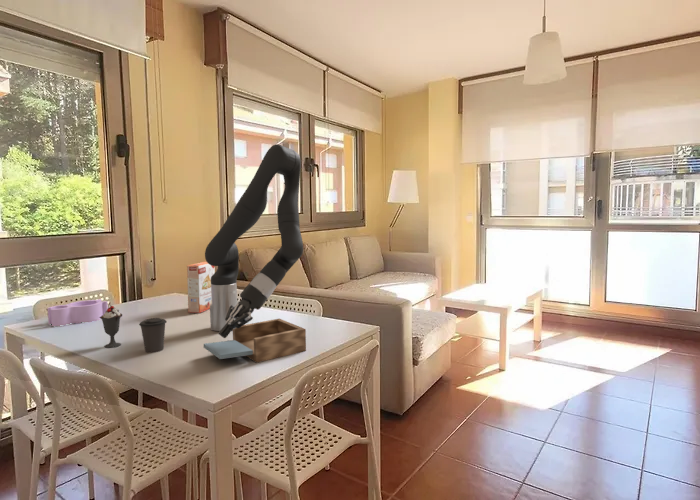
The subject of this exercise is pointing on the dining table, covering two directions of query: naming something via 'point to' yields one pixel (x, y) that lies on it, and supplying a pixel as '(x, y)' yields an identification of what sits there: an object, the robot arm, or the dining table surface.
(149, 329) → the coffee cup
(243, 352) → the flat rectangular panel
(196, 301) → the cracker box
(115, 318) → the sundae
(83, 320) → the purple double bowl
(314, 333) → the dining table surface
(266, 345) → the open wooden box
